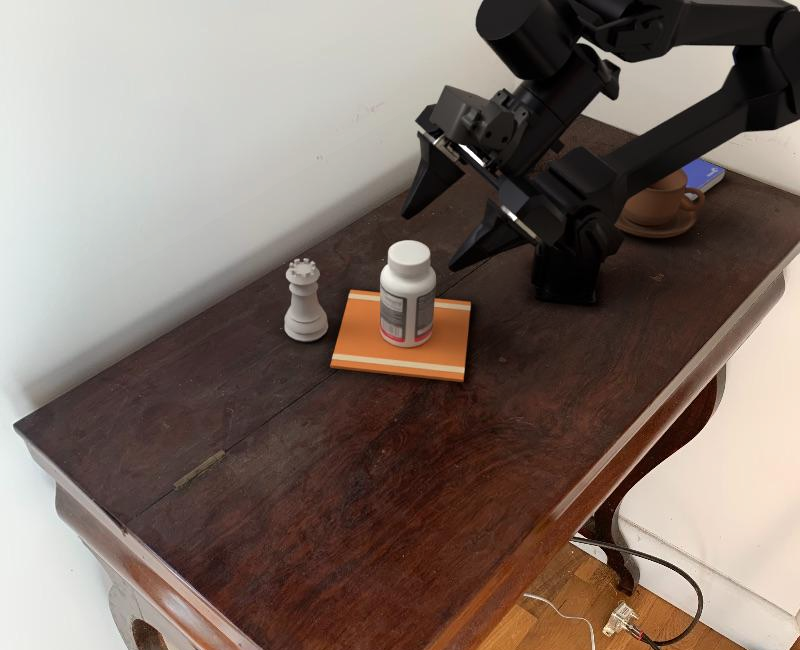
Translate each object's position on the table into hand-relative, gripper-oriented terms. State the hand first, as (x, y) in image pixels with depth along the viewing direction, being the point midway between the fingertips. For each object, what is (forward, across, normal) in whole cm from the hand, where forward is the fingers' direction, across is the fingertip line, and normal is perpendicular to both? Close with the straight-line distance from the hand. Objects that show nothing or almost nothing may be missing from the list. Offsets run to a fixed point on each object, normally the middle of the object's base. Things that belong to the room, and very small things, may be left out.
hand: (426, 242), depth 75 cm
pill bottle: (+9, 0, +6) cm, 11 cm away
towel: (+9, 0, +6) cm, 11 cm away
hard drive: (-24, -15, +39) cm, 48 cm away
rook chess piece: (+15, -5, 0) cm, 16 cm away
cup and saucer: (-17, -7, +32) cm, 37 cm away
